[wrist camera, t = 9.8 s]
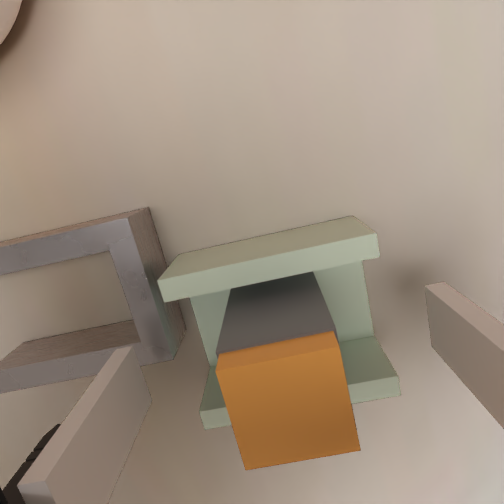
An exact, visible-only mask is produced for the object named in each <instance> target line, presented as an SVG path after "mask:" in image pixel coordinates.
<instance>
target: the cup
mask: <svg viewBox="0 0 504 504" xmlns="http://www.w3.org/2000/svg"><path fill="white" fill-rule="evenodd" d="M21 2H22V0H0V44H1V43H2V42H3V41H4V39H5V38H6V36H7V35H8V33H9V32H10V30H11V28H12V26H13V24H14V22H15V20H16V18H17V15H18V12H19V9H20V6H21Z"/></svg>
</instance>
